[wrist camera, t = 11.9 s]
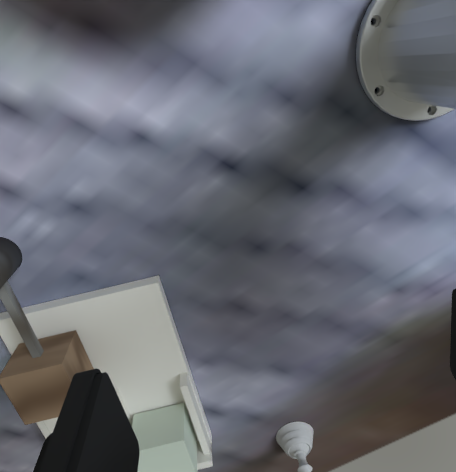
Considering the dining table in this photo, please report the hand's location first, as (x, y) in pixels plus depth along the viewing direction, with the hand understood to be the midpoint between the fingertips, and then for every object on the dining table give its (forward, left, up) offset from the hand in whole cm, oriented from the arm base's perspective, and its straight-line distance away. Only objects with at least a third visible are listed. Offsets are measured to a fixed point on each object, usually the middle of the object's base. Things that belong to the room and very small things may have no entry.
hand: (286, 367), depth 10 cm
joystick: (+11, -21, -27) cm, 36 cm away
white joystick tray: (+23, -17, -28) cm, 40 cm away
